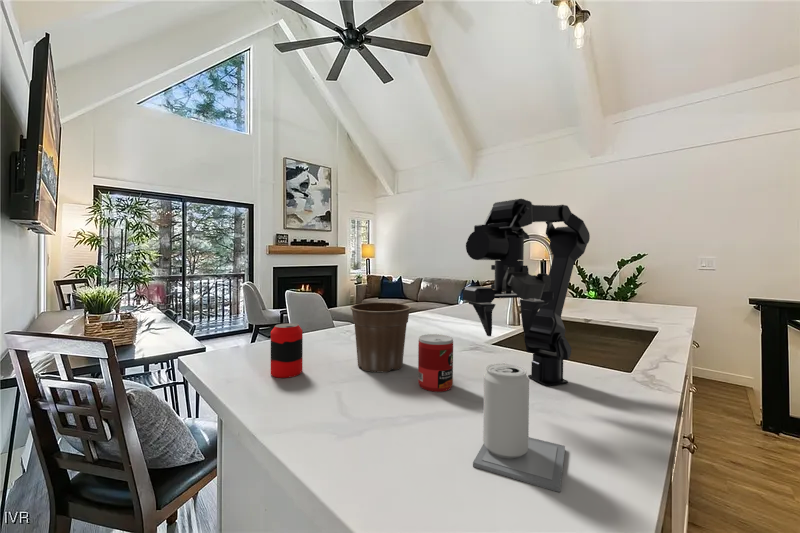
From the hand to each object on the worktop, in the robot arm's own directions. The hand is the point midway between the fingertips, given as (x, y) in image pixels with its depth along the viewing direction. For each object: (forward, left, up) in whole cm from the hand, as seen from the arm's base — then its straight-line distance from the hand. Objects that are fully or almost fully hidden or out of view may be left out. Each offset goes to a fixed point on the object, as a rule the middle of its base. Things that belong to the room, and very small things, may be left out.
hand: (507, 334), depth 73 cm
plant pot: (+20, -28, -13) cm, 37 cm away
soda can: (+44, -29, -13) cm, 54 cm away
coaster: (+12, +20, -13) cm, 27 cm away
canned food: (+12, -10, -13) cm, 20 cm away
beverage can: (+14, +18, -12) cm, 26 cm away
